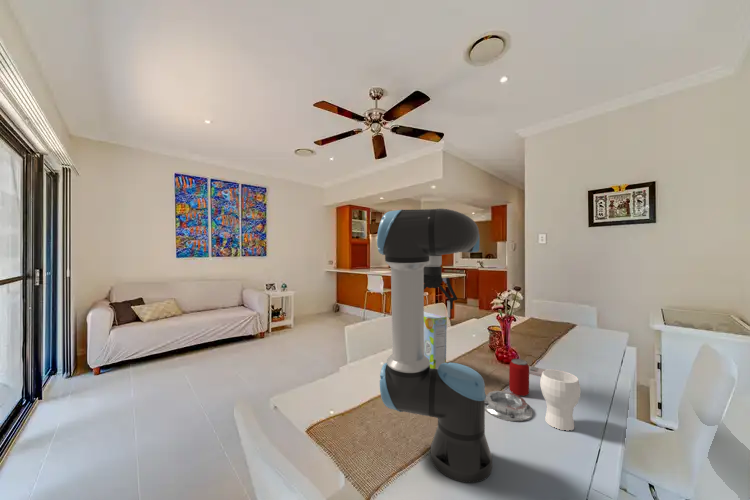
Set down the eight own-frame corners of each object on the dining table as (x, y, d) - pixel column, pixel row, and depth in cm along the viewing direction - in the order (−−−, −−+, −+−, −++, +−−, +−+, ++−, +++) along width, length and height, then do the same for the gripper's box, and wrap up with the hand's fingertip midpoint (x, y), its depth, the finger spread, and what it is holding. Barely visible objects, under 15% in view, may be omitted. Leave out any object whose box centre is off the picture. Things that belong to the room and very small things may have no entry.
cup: (581, 438, 84) (581, 386, 84) (539, 426, 90) (539, 377, 90) (579, 420, 93) (579, 373, 93) (540, 410, 99) (541, 366, 99)
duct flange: (540, 423, 91) (540, 415, 91) (487, 419, 94) (487, 410, 94) (522, 398, 107) (522, 390, 107) (477, 394, 109) (477, 387, 109)
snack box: (447, 376, 125) (448, 316, 125) (433, 381, 120) (433, 319, 120) (413, 360, 143) (413, 307, 142) (399, 364, 138) (400, 309, 138)
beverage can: (529, 391, 112) (530, 360, 112) (528, 399, 106) (528, 366, 106) (510, 386, 116) (510, 356, 116) (507, 394, 110) (508, 362, 110)
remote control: (521, 367, 136) (521, 361, 136) (561, 376, 127) (561, 369, 126) (518, 372, 130) (519, 365, 130) (560, 382, 121) (560, 375, 121)
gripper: (461, 265, 125) (461, 315, 125) (402, 265, 128) (402, 313, 128) (464, 266, 118) (464, 319, 118) (402, 265, 121) (402, 317, 121)
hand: (432, 316), depth 123 cm, fingers open, 13 cm apart
